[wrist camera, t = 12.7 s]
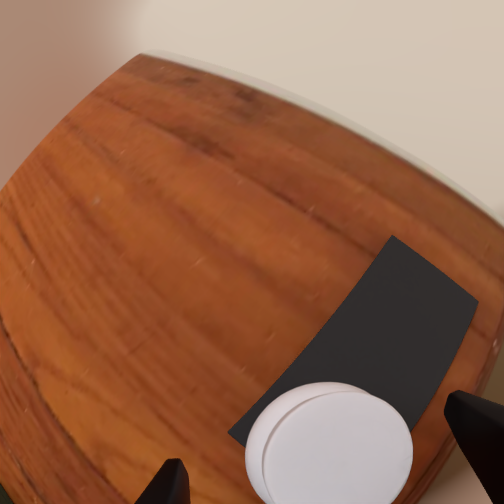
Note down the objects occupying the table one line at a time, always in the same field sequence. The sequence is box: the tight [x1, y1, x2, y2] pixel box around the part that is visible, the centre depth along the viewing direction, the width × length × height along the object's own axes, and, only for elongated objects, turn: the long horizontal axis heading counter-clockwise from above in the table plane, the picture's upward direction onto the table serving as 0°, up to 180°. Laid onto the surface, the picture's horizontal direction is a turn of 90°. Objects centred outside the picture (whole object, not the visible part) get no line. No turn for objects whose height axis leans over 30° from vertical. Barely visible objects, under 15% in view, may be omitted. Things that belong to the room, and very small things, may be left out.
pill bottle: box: [245, 382, 413, 504], centre depth 10 cm, size 5×5×9 cm
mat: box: [228, 235, 478, 448], centre depth 16 cm, size 16×8×1 cm, turn 138°
